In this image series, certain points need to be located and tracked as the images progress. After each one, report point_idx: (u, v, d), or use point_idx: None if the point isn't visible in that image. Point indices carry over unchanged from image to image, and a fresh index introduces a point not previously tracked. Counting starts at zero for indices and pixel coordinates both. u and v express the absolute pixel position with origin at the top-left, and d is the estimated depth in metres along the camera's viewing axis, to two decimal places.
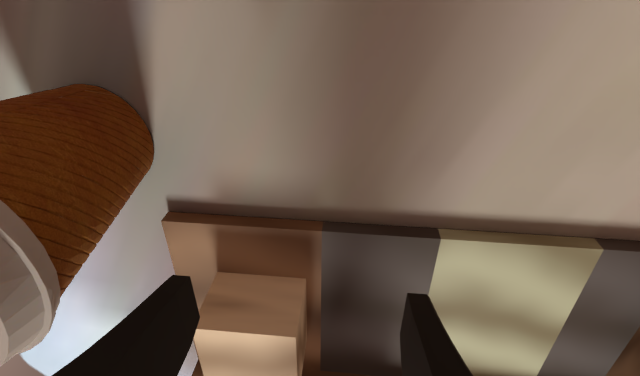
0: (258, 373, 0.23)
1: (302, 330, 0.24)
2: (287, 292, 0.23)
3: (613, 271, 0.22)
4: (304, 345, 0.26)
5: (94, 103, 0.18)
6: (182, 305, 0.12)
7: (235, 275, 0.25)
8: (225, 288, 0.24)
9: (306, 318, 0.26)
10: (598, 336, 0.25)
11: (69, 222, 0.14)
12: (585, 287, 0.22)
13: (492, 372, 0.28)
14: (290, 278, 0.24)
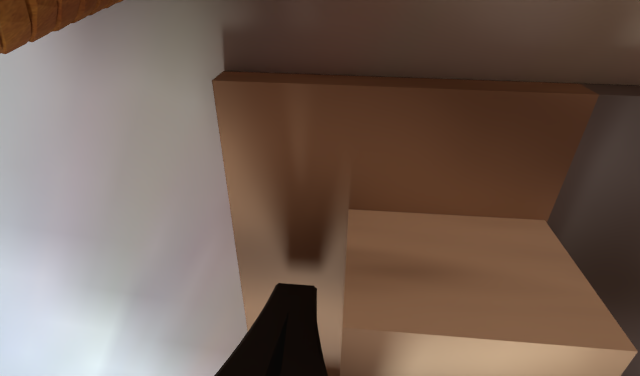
0: None
1: None
2: (524, 245, 0.10)
3: None
4: None
5: None
6: None
7: (389, 214, 0.12)
8: (382, 238, 0.11)
9: None
10: None
11: None
12: None
13: None
14: (511, 220, 0.11)
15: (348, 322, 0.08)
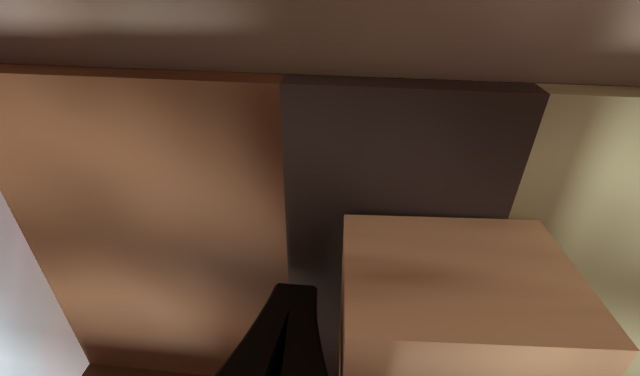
0: None
1: None
2: (521, 246, 0.10)
3: None
4: None
5: None
6: None
7: (385, 219, 0.11)
8: (380, 243, 0.10)
9: None
10: None
11: None
12: None
13: None
14: (507, 220, 0.11)
15: (350, 333, 0.08)
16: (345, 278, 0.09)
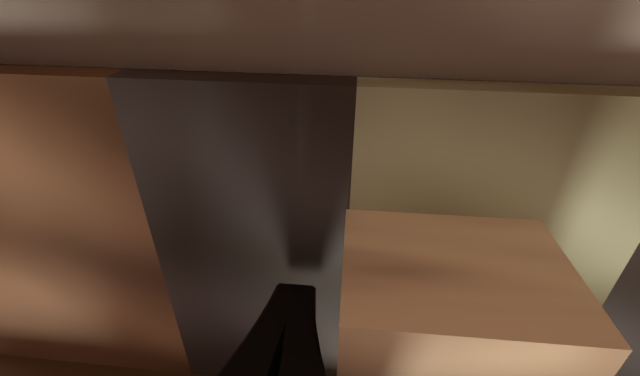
0: None
1: None
2: (520, 245, 0.10)
3: None
4: None
5: None
6: None
7: (386, 214, 0.12)
8: (379, 238, 0.11)
9: None
10: None
11: None
12: None
13: None
14: (508, 219, 0.11)
15: (345, 322, 0.08)
16: (343, 270, 0.10)
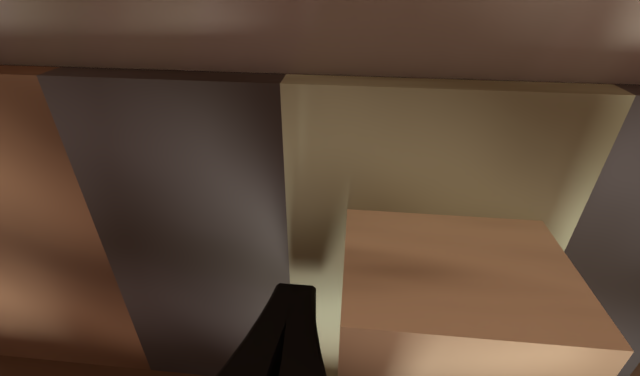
0: None
1: None
2: (522, 245, 0.10)
3: None
4: None
5: None
6: None
7: (387, 214, 0.12)
8: (380, 238, 0.11)
9: None
10: (616, 304, 0.13)
11: None
12: (593, 196, 0.11)
13: None
14: (509, 220, 0.11)
15: (345, 321, 0.08)
16: (344, 270, 0.10)
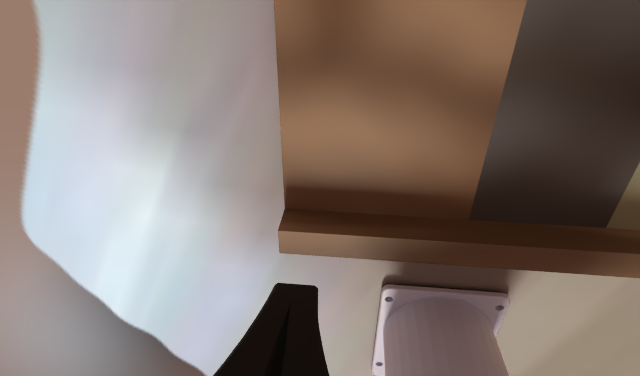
0: None
1: None
2: None
3: None
4: None
5: None
6: None
7: None
8: None
9: None
10: None
11: None
12: None
13: None
14: None
15: None
16: None
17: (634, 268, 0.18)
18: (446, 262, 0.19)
